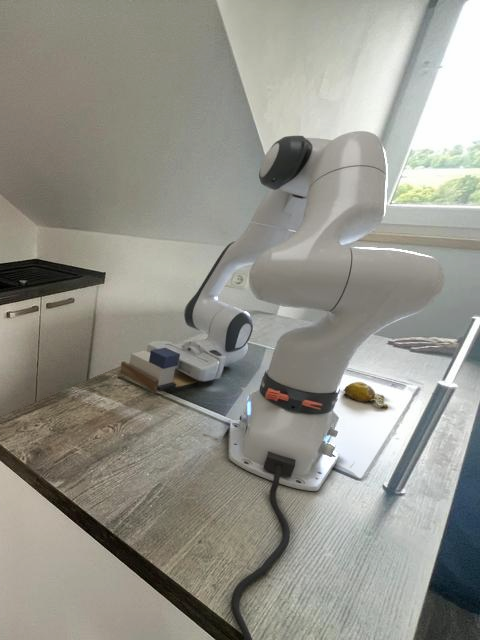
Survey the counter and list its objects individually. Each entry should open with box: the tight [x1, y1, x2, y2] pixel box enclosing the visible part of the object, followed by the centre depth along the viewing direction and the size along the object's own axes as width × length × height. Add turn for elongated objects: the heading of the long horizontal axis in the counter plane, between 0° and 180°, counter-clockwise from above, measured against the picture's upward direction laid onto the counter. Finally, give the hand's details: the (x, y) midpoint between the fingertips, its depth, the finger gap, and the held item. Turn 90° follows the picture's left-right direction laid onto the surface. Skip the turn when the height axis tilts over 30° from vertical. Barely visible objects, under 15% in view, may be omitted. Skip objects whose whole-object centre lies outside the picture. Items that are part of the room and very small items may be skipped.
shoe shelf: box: [119, 361, 200, 393], centre depth 105 cm, size 16×13×4 cm
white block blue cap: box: [129, 348, 180, 392], centre depth 101 cm, size 12×6×9 cm, turn 26°
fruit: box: [343, 381, 389, 408], centre depth 96 cm, size 8×8×4 cm
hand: (158, 363), depth 103 cm, fingers closed
